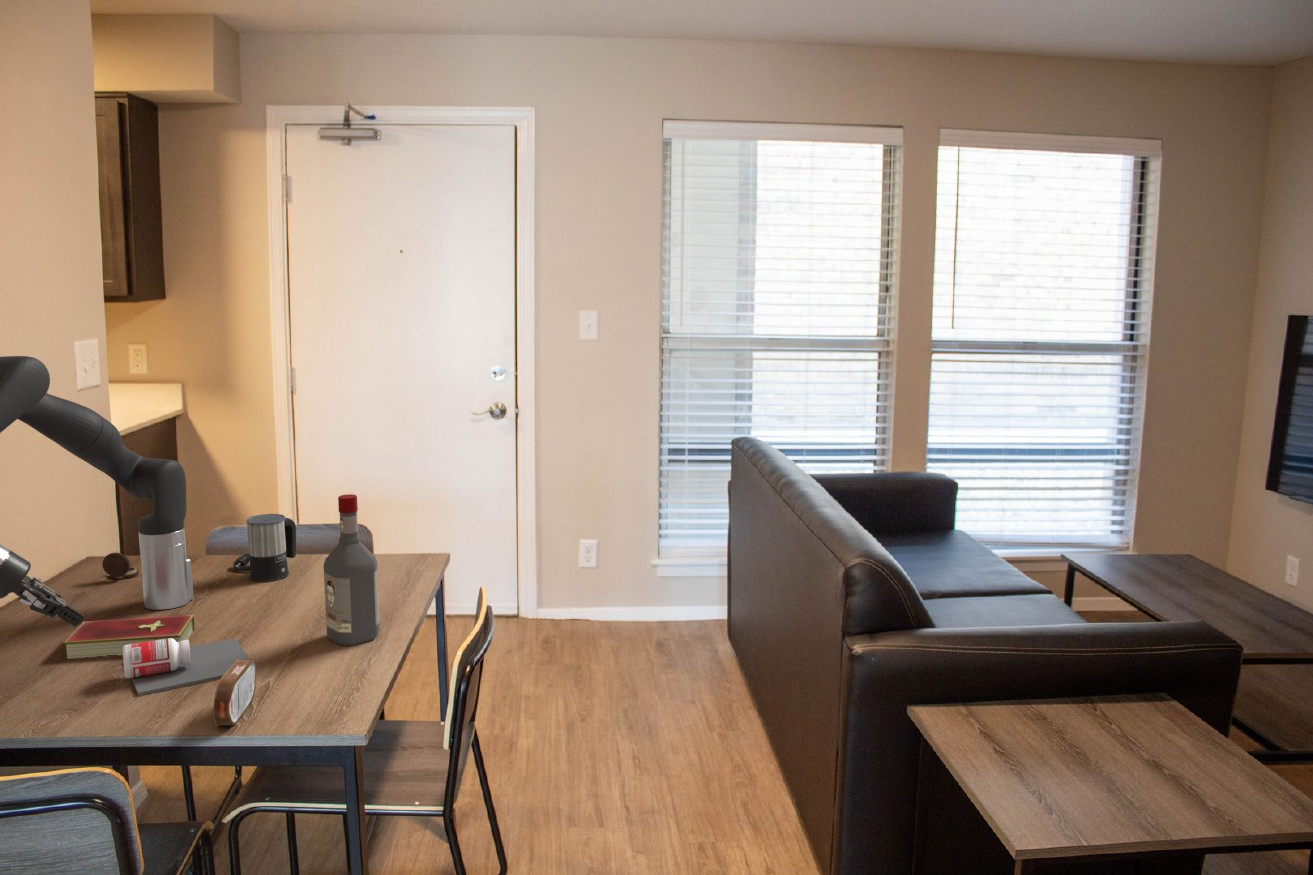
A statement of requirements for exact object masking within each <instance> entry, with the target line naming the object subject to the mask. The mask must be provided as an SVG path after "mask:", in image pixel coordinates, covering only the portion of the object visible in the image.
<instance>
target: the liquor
mask: <svg viewBox="0 0 1313 875" xmlns="http://www.w3.org/2000/svg"><path fill="white" fill-rule="evenodd" d="M337 501H338V502H337V504H338V513H339V533H340V535H339V536H340V537H339V539H338V543H337V545H336V546H335V547H334V549H332V551H331V552H330V553H329V554H328V555H327V557H325V558H324V563H323V580H324V603H325V604H324V605H325V622H326V623H325V625H326V635H327V638H329V640H331V641H333V642H335V643H336V644H338V645H339V646H351V647H352V646H357V645H359V644H364V643H367V642H370V641H371V642H372V641H373V640H374V641H375V639H376V638H377V636H378V635H379V633H380V632H381V627H380V625H381V622H380V602H379V600H380V599H379V597H380V595H379V576H378V575H379V573H378V561H377V558H376V555H374V554H373V553H372V551H370V549H368V548H367V547H366V546H365V545H364V544H363V543H362V542H361V538H360V537H359V536H360V535H359V527H358V526H359V525H358V511H359V509H358V508H359V507H358V496H357V495H356V494H353V493H351V494H341V495H339V496H338V497H337Z"/></svg>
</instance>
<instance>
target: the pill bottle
mask: <svg viewBox="0 0 1313 875" xmlns="http://www.w3.org/2000/svg"><path fill="white" fill-rule="evenodd" d="M190 647H191V646H190V640H189V639H187V640H183V641H180V642H176V641H175V640H174V639H172V638H169V639H161V640H155V641H148V642H141V643H134V644H128V645H124V646H123V655H122V662H123V664H122V665H123V673H124V677H125V678H126V679H132V678H134V677H140V676H146V675H152V674H158V673H165V672H171V671H174V670H176V669H177V667H178V666H179V665H181V664H182V665H184V666H185V665H190V664H191V661H190Z"/></svg>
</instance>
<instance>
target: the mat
mask: <svg viewBox="0 0 1313 875" xmlns="http://www.w3.org/2000/svg"><path fill="white" fill-rule="evenodd" d="M189 647H190V661H191V664H190V665H185V666H184V665H182V664H181V665H179V666H178V667H177V669H176V670H174V671H171V672H165V673H158V674H152V675H146V676H140V677H134V678H131V680H132V682H133V685H134V688H135V691H136V693H138V694H137V696H138V697H140V696H145V695H144V694H146V695H149V693H150V694H153V693H158V692H164V691H168V690H174V689H178V688H182V687H188V686H193V685H197V684H202V683H207V682H211V681H215V680H216V681H217V680H220V679H221V678H222V676H223V675H224V674H225V673H226V672H227V671H228V670H229V668H230V667H231V666H232V665H233V664H234V663H235V661H236V660H238V659H241V660H251V659H250V657H249V655H248V654H247V653H246V652H245V650H244V649H243V648H242V646H241V644H240V643H239V641H238V640H237V638H236V637H233V638H228V639H222V640H218V641H213V642H207V643H201V644H196V645H192V646H189Z"/></svg>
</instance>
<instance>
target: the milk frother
mask: <svg viewBox="0 0 1313 875" xmlns="http://www.w3.org/2000/svg"><path fill="white" fill-rule="evenodd" d="M245 523H246V530H247V542H248V552H247V553H245V554H243V555H241V556H239V557H237V558H236V559H235V560H234V562H233V564H232V565H233V568H234V569H235V570H236V571H240V572H248V571H249V575H248V578H249V579H250V580H251V581H254V582H261V583H262V582H263V583H264V582H274V581H278V580H279V581H280V580H282V579H285V578H286V577H288V576H289V575H290V572H289V571H290V570H289V568H288V567H289V566H288V559H287V558H289V559H294V558H295V557H296V555H297V526H296V523H295V521H294V520H293V519H292V518H290V517H286V515H284V514H280V513H263V514H256V515H252V516H249V517H248V518H246V519H245ZM248 564H249V565H248Z"/></svg>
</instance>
